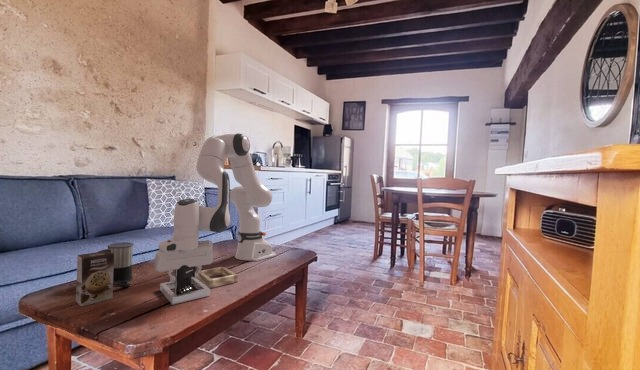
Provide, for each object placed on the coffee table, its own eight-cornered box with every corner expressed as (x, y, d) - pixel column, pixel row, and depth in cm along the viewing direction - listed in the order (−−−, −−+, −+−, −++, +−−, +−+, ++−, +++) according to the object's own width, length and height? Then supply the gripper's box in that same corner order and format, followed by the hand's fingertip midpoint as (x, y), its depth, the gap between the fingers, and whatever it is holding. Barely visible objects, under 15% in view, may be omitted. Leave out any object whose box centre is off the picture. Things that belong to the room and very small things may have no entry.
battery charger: (181, 297, 107) (182, 265, 107) (173, 295, 108) (174, 264, 108) (195, 290, 114) (196, 261, 113) (187, 288, 115) (189, 259, 115)
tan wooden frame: (223, 272, 135) (223, 266, 135) (237, 282, 124) (237, 275, 124) (196, 278, 127) (196, 271, 127) (209, 288, 116) (209, 280, 116)
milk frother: (122, 275, 126) (123, 240, 126) (150, 280, 121) (151, 245, 121) (86, 286, 113) (87, 248, 113) (116, 293, 108) (117, 253, 108)
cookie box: (81, 307, 96) (82, 258, 96) (75, 301, 100) (76, 254, 99) (113, 298, 103) (114, 253, 103) (106, 293, 107) (108, 249, 107)
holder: (194, 282, 121) (194, 276, 121) (209, 295, 109) (210, 289, 109) (159, 290, 113) (160, 283, 112) (172, 304, 101) (172, 297, 101)
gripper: (209, 238, 120) (208, 271, 120) (153, 244, 106) (152, 282, 106) (216, 241, 115) (214, 276, 115) (158, 247, 101) (156, 287, 102)
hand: (184, 279), depth 111 cm, fingers open, 7 cm apart
